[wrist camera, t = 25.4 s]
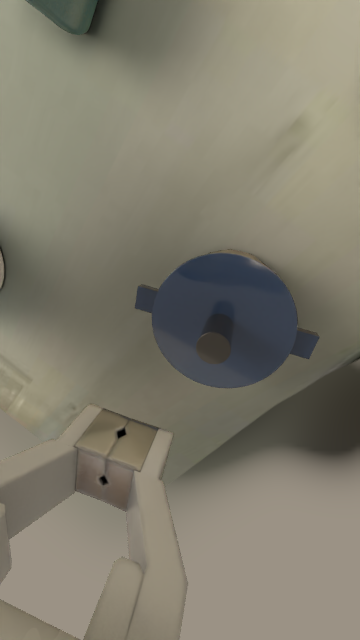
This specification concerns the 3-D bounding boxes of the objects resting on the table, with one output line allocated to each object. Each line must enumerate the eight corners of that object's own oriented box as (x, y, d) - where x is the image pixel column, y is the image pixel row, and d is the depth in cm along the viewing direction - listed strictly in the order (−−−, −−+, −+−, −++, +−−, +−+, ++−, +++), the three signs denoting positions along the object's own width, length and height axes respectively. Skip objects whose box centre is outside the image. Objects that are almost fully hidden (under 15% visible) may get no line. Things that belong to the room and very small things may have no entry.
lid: (266, 398, 25) (271, 442, 20) (146, 359, 27) (123, 390, 22) (320, 272, 20) (345, 288, 15) (168, 236, 22) (144, 239, 17)
